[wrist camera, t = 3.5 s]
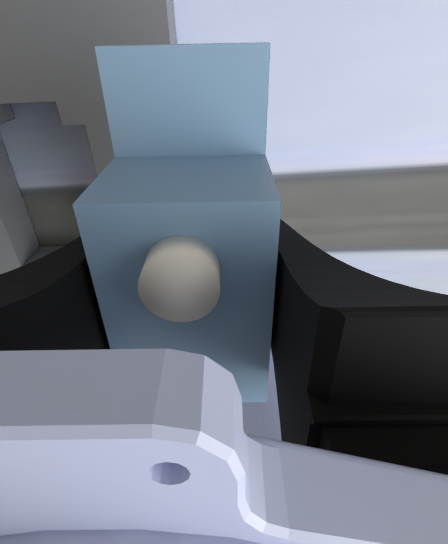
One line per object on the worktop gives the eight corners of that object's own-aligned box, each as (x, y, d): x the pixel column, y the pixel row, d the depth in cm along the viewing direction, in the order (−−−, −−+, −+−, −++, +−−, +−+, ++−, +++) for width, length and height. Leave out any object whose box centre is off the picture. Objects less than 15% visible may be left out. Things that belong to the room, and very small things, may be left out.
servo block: (249, 318, 17) (264, 477, 11) (165, 319, 17) (132, 479, 11) (258, 41, 11) (303, 47, 5) (127, 43, 11) (5, 52, 5)
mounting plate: (200, 318, 26) (199, 342, 24) (8, 323, 26) (-10, 348, 24) (168, -50, 15) (159, -64, 13) (-162, -36, 15) (-222, -47, 13)
